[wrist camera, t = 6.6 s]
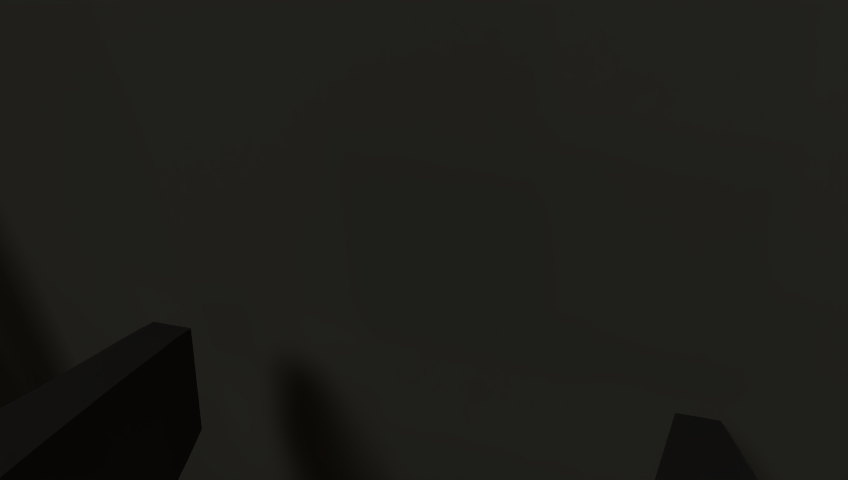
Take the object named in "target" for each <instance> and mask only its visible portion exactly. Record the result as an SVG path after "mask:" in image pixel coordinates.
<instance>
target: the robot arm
mask: <svg viewBox="0 0 848 480" xmlns="http://www.w3.org/2000/svg"><path fill="white" fill-rule="evenodd" d="M201 430H202V427H201V418H200V409H199V400H198V390H197V381H196V372H195V363H194V354H193V345H192V336H191V328H185V327H180V326H174V325H168V324H163V323H157V322H153V323H151V324H149V325H147V326H145V327H143V328H141V329H139V330H137V331H136V332H134V333H132V334H130V335H129V336H127V337H125V338H123V339H121V340H120V341H118V342H116V343H115V344H113V345H111V346H109V347H108V348H106V349H104V350H103V351H101V352H99V353H98V354H96V355H94V356H92V357H91V358H89V359H87V360H86V361H84V362H82V363H80V364H79V365H77V366H75V367H74V368H72V369H70V370H68V371H67V372H65V373H63V374H61V375H60V376H58V377H56V378H54V379H53V380H51V381H49V382H47V383H46V384H44V385H42V386H40V387H39V388H37V389H35V390H33V391H32V392H30V393H28V394H26V395H25V396H23V397H21V398H19V399H17V400H15V401H13V402H12V403H10V404H8V405H6V406H4V407H2V408H0V480H178V478H179V476H180V474H181V472H182V470H183V468H184V466H185V464H186V462H187V460H188V458H189V456H190V454H191V451H192V449H193V447H194V445H195V443H196V440H197V438H198V436H199V434H200V432H201ZM655 480H758V479H757V477H756V475H755V474H754V472H753V471H752V469H751V467H750V466H749V464H748V463H747V461H746V460H745V458H744V456H743V455H742V453H741V451H740V450H739V448H738V447H737V445H736V443H735V442H734V440H733V439H732V437H731V435H730V434H729V432H728V431H727V429H726V428H725V426H724V425H723V424H722V422H721V421H718V420H712V419H706V418H701V417H695V416H689V415H683V414H678V413H675V416H674V419H673V422H672V426H671V429H670V432H669V436H668V439H667V442H666V445H665V449H664V452H663V455H662V459H661V462H660V465H659V468H658V472H657V475H656V478H655Z"/></svg>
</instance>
